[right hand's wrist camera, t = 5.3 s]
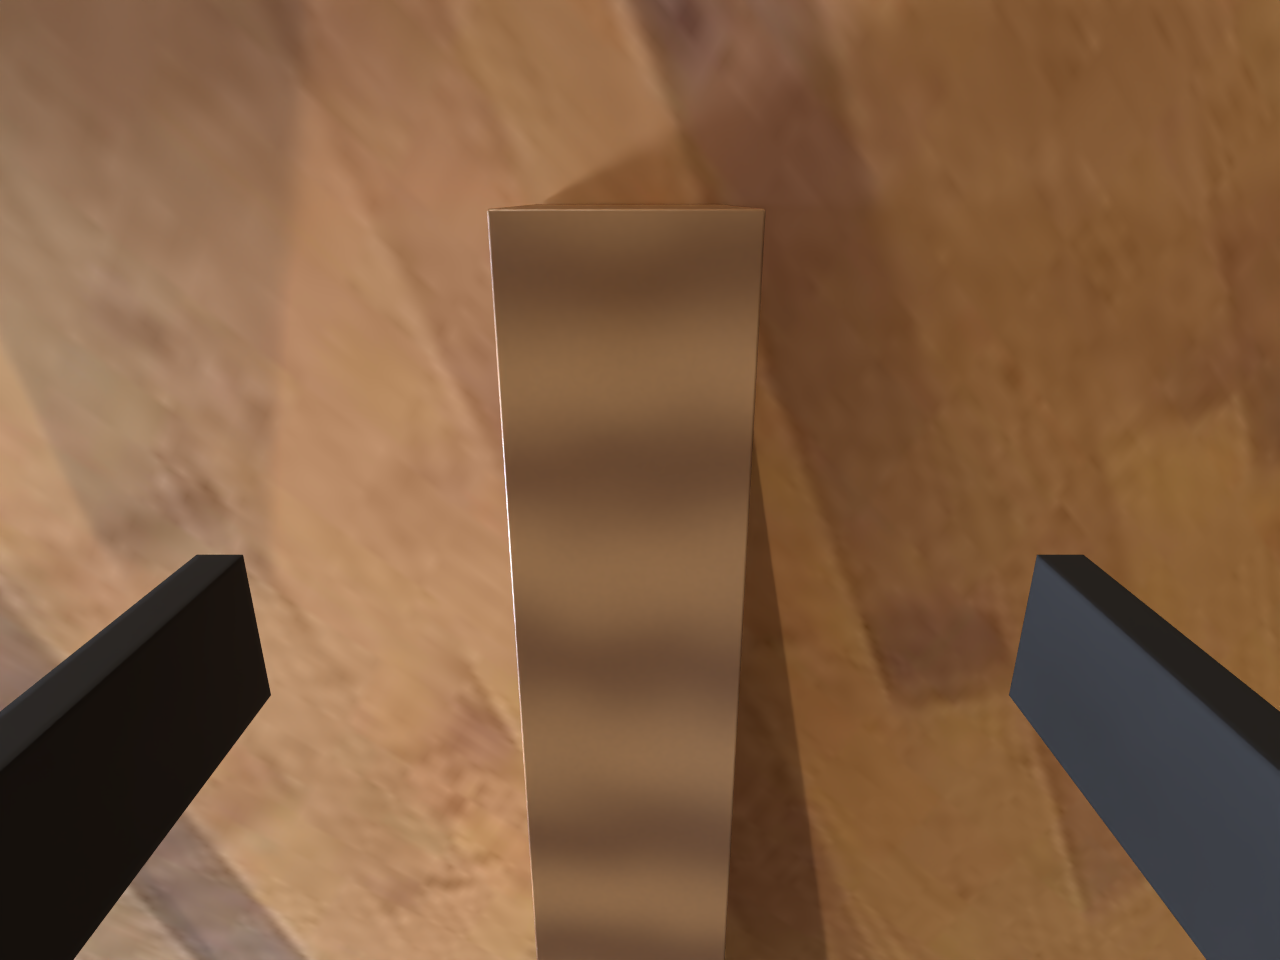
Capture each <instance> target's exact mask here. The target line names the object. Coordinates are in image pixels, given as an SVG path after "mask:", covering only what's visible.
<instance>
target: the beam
mask: <svg viewBox="0 0 1280 960" xmlns="http://www.w3.org/2000/svg"><path fill="white" fill-rule="evenodd" d="M487 218H488V233H489V248H490V263H491V278H492V293H493V308H494V323H495V338H496V353H497V368H498V383H499V398H500V413H501V428H502V443H503V458H504V473H505V488H506V503H507V518H508V533H509V548H510V563H511V578H512V593H513V608H514V623H515V638H516V653H517V668H518V683H519V698H520V713H521V728H522V743H523V758H524V773H525V788H526V804H527V819H528V834H529V849H530V864H531V879H532V894H533V909H534V924H535V939H536V954H537V960H724V959H725V941H726V923H727V904H728V886H729V868H730V850H731V831H732V813H733V795H734V776H735V758H736V740H737V721H738V703H739V685H740V667H741V648H742V630H743V612H744V593H745V575H746V557H747V538H748V520H749V502H750V484H751V465H752V447H753V429H754V410H755V392H756V374H757V356H758V337H759V319H760V301H761V282H762V264H763V246H764V227H765V210H764V209H759V208H750V207H740V206H731V205H721V204H535V205H525V206H514V207H504V208H494V209H488V210H487Z"/></svg>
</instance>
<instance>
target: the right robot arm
mask: <svg viewBox="0 0 1280 960" xmlns="http://www.w3.org/2000/svg"><path fill="white" fill-rule="evenodd" d="M270 696H271V693H270V688H269V683H268V678H267V673H266V668H265V663H264V658H263V653H262V648H261V643H260V638H259V633H258V628H257V623H256V618H255V613H254V608H253V603H252V598H251V593H250V588H249V583H248V578H247V573H246V568H245V563H244V558H243V555H196V556H195V557H193V558H192V559H191V560H190V561H188V562H187V563H186V564H184V565H183V566H182V567H181V568H179V569H178V570H177V571H176V572H174V573H173V574H172V575H171V576H169V577H168V578H167V579H166V580H164V581H163V582H162V583H161V584H159V585H158V586H157V587H156V588H154V589H153V590H152V591H151V592H149V593H148V594H147V595H146V596H144V597H143V598H142V599H141V600H139V601H138V602H137V603H136V604H134V605H133V606H132V607H131V608H129V609H128V610H127V611H126V612H124V613H123V614H122V615H121V616H119V617H118V618H117V619H116V620H114V621H113V622H112V623H111V624H109V625H108V626H107V627H106V628H104V629H103V630H102V631H101V632H99V633H98V634H97V635H96V636H94V637H93V638H92V639H91V640H89V641H88V642H87V643H86V644H84V645H83V646H82V647H81V648H79V649H78V650H77V651H76V652H74V653H73V654H72V655H71V656H69V657H68V658H67V659H66V660H64V661H63V662H62V663H61V664H59V665H58V666H57V667H56V668H54V669H53V670H52V671H51V672H49V673H48V674H47V675H46V676H44V677H43V678H42V679H41V680H39V681H38V682H37V683H35V684H34V685H33V686H32V687H30V688H29V689H28V690H27V691H25V692H24V693H23V694H22V695H20V696H19V697H18V698H17V699H15V700H14V701H13V702H12V703H10V704H9V705H8V706H7V707H5V708H4V709H3V710H2V711H0V960H74V958H75V957H76V955H77V954H78V953H79V951H80V950H81V949H82V947H83V946H84V945H85V943H86V942H87V941H88V939H89V938H90V937H91V935H92V934H93V933H94V931H95V930H96V929H97V927H98V926H99V925H100V923H101V922H102V921H103V919H104V918H105V917H106V915H107V914H108V913H109V911H110V910H111V909H112V907H113V906H114V905H115V903H116V902H117V901H118V899H119V898H120V897H121V895H122V894H123V893H124V891H125V890H126V889H127V887H128V886H129V885H130V883H131V882H132V880H133V879H134V878H135V876H136V875H137V874H138V872H139V871H140V870H141V868H142V867H143V866H144V864H145V863H146V862H147V860H148V859H149V858H150V856H151V855H152V854H153V852H154V851H155V850H156V848H157V847H158V846H159V844H160V843H161V842H162V840H163V839H164V838H165V836H166V835H167V834H168V832H169V831H170V830H171V828H172V827H173V826H174V824H175V823H176V822H177V820H178V819H179V818H180V816H181V815H182V814H183V812H184V811H185V809H186V808H187V807H188V805H189V804H190V803H191V801H192V800H193V799H194V797H195V796H196V795H197V793H198V792H199V791H200V789H201V788H202V787H203V785H204V784H205V783H206V781H207V780H208V779H209V777H210V776H211V775H212V773H213V772H214V771H215V769H216V768H217V767H218V765H219V764H220V763H221V761H222V760H223V759H224V757H225V756H226V755H227V753H228V752H229V751H230V749H231V748H232V747H233V745H234V744H235V743H236V741H237V740H238V738H239V737H240V736H241V734H242V733H243V732H244V730H245V729H246V728H247V726H248V725H249V724H250V722H251V721H252V720H253V718H254V717H255V716H256V714H257V713H258V712H259V710H260V709H261V708H262V706H263V705H264V704H265V702H266V701H267V700H268V698H269V697H270ZM1009 696H1010V697H1011V698H1012V700H1013V701H1014V702H1015V704H1016V705H1017V706H1018V708H1019V709H1020V710H1021V712H1022V713H1023V714H1024V716H1025V717H1026V718H1027V720H1028V721H1029V722H1030V724H1031V725H1032V726H1033V728H1034V729H1035V730H1036V732H1037V733H1038V734H1039V736H1040V737H1041V738H1042V740H1043V741H1044V743H1045V744H1046V745H1047V747H1048V748H1049V749H1050V751H1051V752H1052V753H1053V755H1054V756H1055V757H1056V759H1057V760H1058V761H1059V763H1060V764H1061V765H1062V767H1063V768H1064V769H1065V771H1066V772H1067V773H1068V775H1069V776H1070V777H1071V779H1072V780H1073V781H1074V783H1075V784H1076V785H1077V787H1078V788H1079V789H1080V791H1081V792H1082V793H1083V795H1084V796H1085V797H1086V799H1087V800H1088V801H1089V803H1090V804H1091V805H1092V807H1093V808H1094V809H1095V811H1096V812H1097V814H1098V815H1099V816H1100V818H1101V819H1102V820H1103V822H1104V823H1105V824H1106V826H1107V827H1108V828H1109V830H1110V831H1111V832H1112V834H1113V835H1114V836H1115V838H1116V839H1117V840H1118V842H1119V843H1120V844H1121V846H1122V847H1123V848H1124V850H1125V851H1126V852H1127V854H1128V855H1129V856H1130V858H1131V859H1132V860H1133V862H1134V863H1135V864H1136V866H1137V867H1138V868H1139V870H1140V871H1141V872H1142V874H1143V875H1144V876H1145V878H1146V879H1147V880H1148V882H1149V883H1150V885H1151V886H1152V887H1153V889H1154V890H1155V891H1156V893H1157V894H1158V895H1159V897H1160V898H1161V899H1162V901H1163V902H1164V903H1165V905H1166V906H1167V907H1168V909H1169V910H1170V911H1171V913H1172V914H1173V915H1174V917H1175V918H1176V919H1177V921H1178V922H1179V923H1180V925H1181V926H1182V927H1183V929H1184V930H1185V931H1186V933H1187V934H1188V935H1189V937H1190V938H1191V939H1192V941H1193V942H1194V943H1195V945H1196V946H1197V947H1198V949H1199V950H1200V951H1201V953H1202V954H1203V955H1204V957H1205V958H1206V960H1280V711H1278V710H1277V709H1276V708H1275V707H1273V706H1272V705H1271V704H1270V703H1268V702H1267V701H1266V700H1265V699H1263V698H1262V697H1261V696H1260V695H1258V694H1257V693H1256V692H1255V691H1253V690H1252V689H1251V688H1250V687H1248V686H1247V685H1246V684H1245V683H1243V682H1242V681H1241V680H1239V679H1238V678H1237V677H1236V676H1234V675H1233V674H1232V673H1231V672H1229V671H1228V670H1227V669H1226V668H1224V667H1223V666H1222V665H1221V664H1219V663H1218V662H1217V661H1216V660H1214V659H1213V658H1212V657H1211V656H1209V655H1208V654H1207V653H1206V652H1204V651H1203V650H1202V649H1201V648H1199V647H1198V646H1197V645H1196V644H1194V643H1193V642H1192V641H1191V640H1189V639H1188V638H1187V637H1186V636H1184V635H1183V634H1182V633H1181V632H1179V631H1178V630H1177V629H1176V628H1174V627H1173V626H1172V625H1171V624H1169V623H1168V622H1167V621H1166V620H1164V619H1163V618H1162V617H1161V616H1159V615H1158V614H1157V613H1156V612H1154V611H1153V610H1152V609H1151V608H1149V607H1148V606H1147V605H1146V604H1144V603H1143V602H1142V601H1141V600H1139V599H1138V598H1137V597H1136V596H1134V595H1133V594H1132V593H1131V592H1129V591H1128V590H1127V589H1126V588H1124V587H1123V586H1122V585H1121V584H1119V583H1118V582H1117V581H1116V580H1114V579H1113V578H1112V577H1111V576H1109V575H1108V574H1107V573H1106V572H1104V571H1103V570H1102V569H1101V568H1099V567H1098V566H1097V565H1096V564H1094V563H1093V562H1092V561H1090V560H1089V559H1088V558H1087V557H1085V556H1084V555H1037V558H1036V563H1035V568H1034V573H1033V578H1032V583H1031V588H1030V593H1029V598H1028V603H1027V608H1026V613H1025V618H1024V623H1023V628H1022V633H1021V638H1020V643H1019V648H1018V653H1017V658H1016V663H1015V668H1014V673H1013V678H1012V683H1011V688H1010V693H1009Z"/></svg>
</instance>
